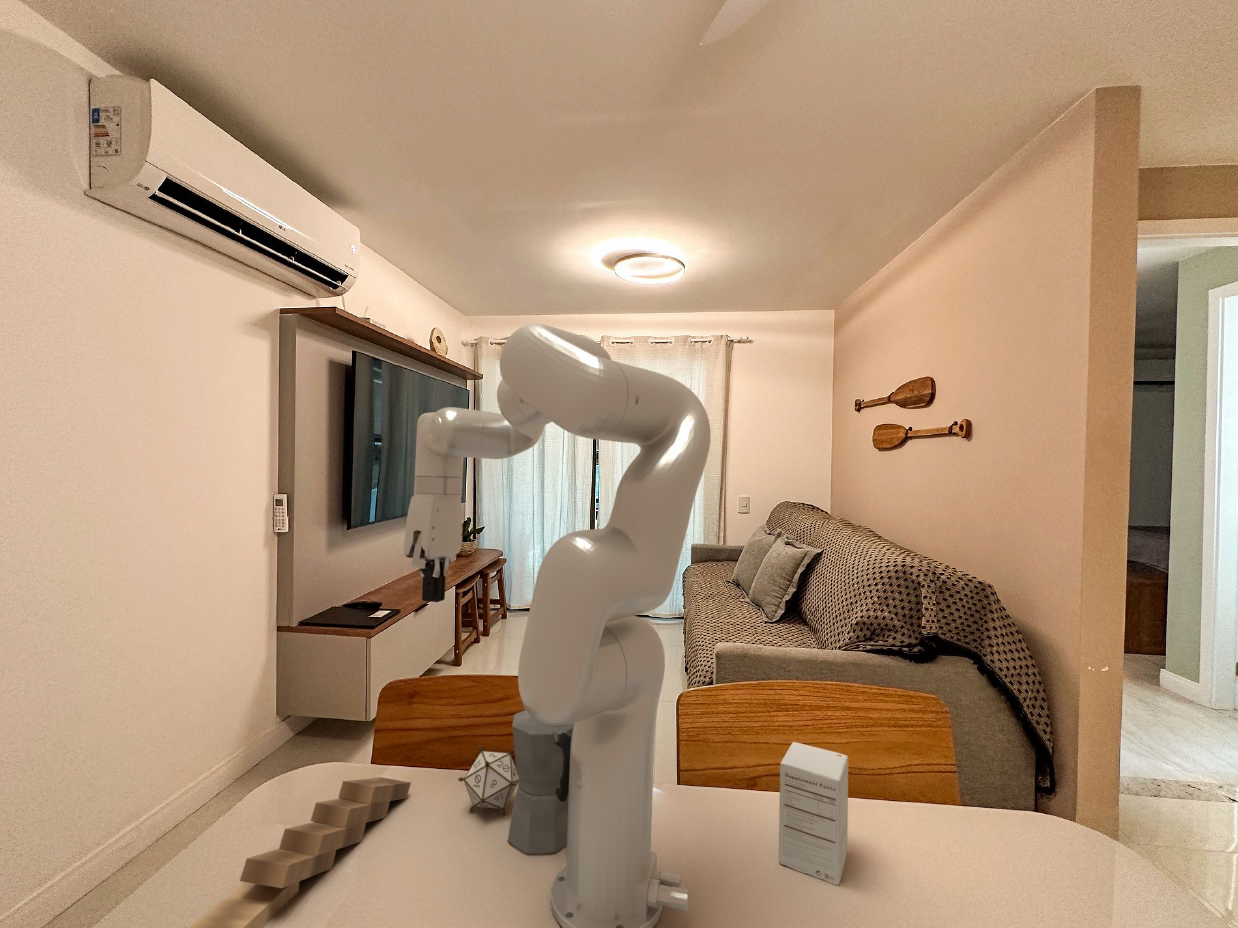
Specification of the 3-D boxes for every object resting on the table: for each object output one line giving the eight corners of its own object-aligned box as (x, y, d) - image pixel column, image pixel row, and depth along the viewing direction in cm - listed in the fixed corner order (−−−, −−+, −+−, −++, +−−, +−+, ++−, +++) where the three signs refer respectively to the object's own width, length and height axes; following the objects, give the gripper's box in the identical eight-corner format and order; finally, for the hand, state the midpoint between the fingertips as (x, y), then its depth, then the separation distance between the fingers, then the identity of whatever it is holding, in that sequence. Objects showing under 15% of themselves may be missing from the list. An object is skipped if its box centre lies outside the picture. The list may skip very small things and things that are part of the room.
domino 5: (410, 782, 82) (374, 786, 74) (407, 797, 81) (370, 803, 73) (381, 777, 83) (342, 780, 75) (377, 792, 82) (338, 797, 74)
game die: (501, 828, 81) (543, 764, 84) (483, 841, 73) (531, 771, 76) (456, 786, 83) (499, 726, 86) (435, 795, 76) (482, 729, 78)
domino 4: (389, 800, 77) (350, 808, 69) (385, 817, 76) (345, 827, 68) (358, 795, 78) (315, 802, 70) (354, 811, 77) (310, 820, 69)
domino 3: (366, 822, 72) (322, 834, 64) (361, 841, 71) (317, 855, 63) (331, 817, 73) (284, 828, 65) (326, 835, 72) (278, 848, 64)
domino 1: (299, 875, 62) (230, 939, 53) (298, 893, 62) (229, 960, 53) (260, 868, 63) (186, 930, 54) (259, 886, 63) (185, 951, 54)
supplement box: (790, 833, 76) (792, 739, 76) (848, 853, 72) (850, 754, 72) (776, 864, 69) (778, 761, 70) (839, 888, 65) (841, 779, 66)
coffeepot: (492, 816, 77) (498, 685, 78) (555, 799, 82) (560, 676, 83) (530, 887, 64) (536, 729, 65) (603, 863, 68) (608, 715, 69)
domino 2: (336, 847, 67) (288, 864, 59) (331, 867, 66) (282, 887, 58) (299, 842, 68) (246, 858, 59) (293, 861, 67) (239, 880, 59)
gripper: (444, 487, 99) (439, 590, 98) (388, 487, 85) (382, 607, 84) (481, 489, 97) (477, 594, 96) (431, 488, 83) (425, 612, 82)
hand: (433, 600), depth 90 cm, fingers closed
